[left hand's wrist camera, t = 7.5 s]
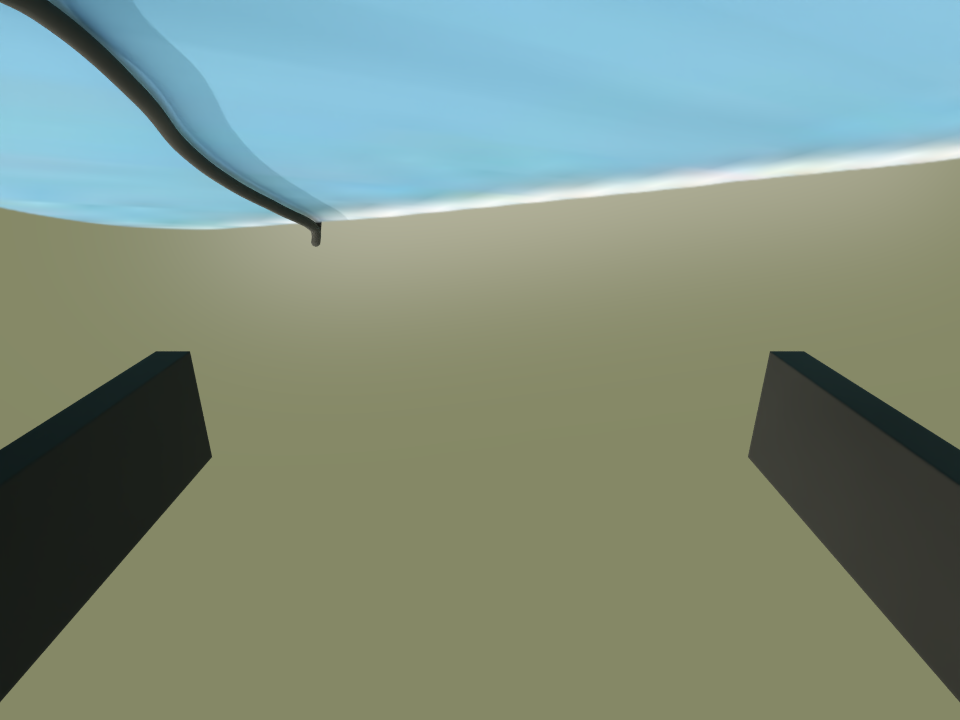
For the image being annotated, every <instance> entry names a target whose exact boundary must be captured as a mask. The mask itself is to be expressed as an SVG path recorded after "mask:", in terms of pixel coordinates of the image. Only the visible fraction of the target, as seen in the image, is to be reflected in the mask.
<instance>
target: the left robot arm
mask: <svg viewBox="0 0 960 720" xmlns="http://www.w3.org/2000/svg"><path fill="white" fill-rule="evenodd" d="M0 2H1V3H3V4H5V5H7V6H10V7H12V8H14V9H16V10H18V11H20V12H22V13H23V14H25V15H27V16H29V17H30V18H32V19H33V20H35V21H36V22H38V23H39V24H41V25H42V26H44V27H45V28H47V29H48V30H50V31H51V32H52V33H54V34H55V35H56V36H58V37H59V38H61V39H62V40H63V41H65V42H66V43H67V44H69V45H70V46H71V47H72V48H74V49H75V50H76V51H77V52H79V53H80V54H81V55H82V56H83V57H85V58H86V59H87V60H88V61H89V62H90V63H92V64H93V65H94V66H95V67H96V68H97V69H98V70H99V71H101V72H102V73H103V74H104V75H105V76H106V77H107V78H108V79H109V80H110V81H111V82H112V83H114V84H115V85H116V86H117V87H118V88H119V89H120V90H121V91H122V92H123V93H124V94H125V95H126V96H127V97H128V98H129V99H130V100H131V101H132V102H133V103H134V104H135V105H136V106H137V107H138V108H139V109H140V110H141V111H142V112H143V113H144V114H145V115H146V116H147V117H148V118H149V120H150V121H151V122H152V123H153V124H154V126H155V127H156V128H157V130H158V131H159V132H160V134H161V135H162V136H163V137H164V139H165V140H166V141H167V142H168V143H169V144H170V145H171V147H172V148H173V149H174V150H175V151H177V152H178V153H179V154H180V155H181V156H182V157H183V158H184V159H186V160H187V161H188V162H189V163H190V164H192V165H193V166H194V167H196V168H197V169H198V170H199V171H201V172H202V173H204V174H205V175H207V176H208V177H209V178H211V179H213V180H214V181H216V182H217V183H219V184H220V185H222V186H224V187H225V188H227V189H229V190H230V191H232V192H234V193H236V194H238V195H239V196H241V197H243V198H245V199H247V200H249V201H251V202H253V203H255V204H258V205H260V206H262V207H264V208H266V209H268V210H270V211H272V212H274V213H276V214H278V215H280V216H282V217H285V218H287V219H289V220H291V221H294V222H296V223H298V224H300V225H302V226H304V227H306V228H308V229H309V230H310V231H311V233H312V241H311V243H312V245H313V246H315V247H316V246H319V245H320V240H321V225H322V222H314V221H312V220H311V219H309V218H307V217H306V216H304V215H302V214H299V213H297V212H295V211H293V210H291V209H289V208H287V207H285V206H283V205H281V204H279V203H277V202H275V201H274V200H272V199H270V198H268V197H266V196H264V195H262V194H260V193H258V192H256V191H254V190H252V189H250V188H249V187H247V186H245V185H243V184H242V183H240V182H239V181H237V180H235V179H234V178H232V177H231V176H229V175H228V174H226V173H225V172H223V171H222V170H220V169H219V168H218V167H216V166H215V165H214V164H212V163H211V162H210V161H208V160H207V159H206V158H205V157H204V156H202V155H201V154H200V153H199V152H198V151H197V150H196V149H195V148H193V147H192V146H191V145H190V144H189V143H188V142H187V141H186V140H185V139H184V138H183V136H182V135H181V134H180V133H179V132H178V130H177V129H176V128H175V127H174V125H173V124H172V122H171V121H170V119H169V118H168V116H167V115H166V114H165V112H164V111H163V109H162V108H161V107H160V105H159V104H158V103H157V102H156V101H155V99H154V98H153V97H152V96H151V95H150V94H149V93H148V91H147V90H146V89H145V88H144V87H143V86H142V85H141V84H140V83H139V82H138V81H137V80H136V79H135V78H134V77H133V76H132V75H131V74H130V73H129V72H128V70H127V69H126V68H125V67H124V66H123V65H122V64H121V63H120V62H119V61H118V60H117V59H116V58H115V57H114V56H113V55H112V54H111V53H110V52H109V51H107V50H106V49H105V48H104V47H103V46H102V45H101V44H100V43H99V42H98V41H97V40H96V39H95V38H93V37H92V36H91V35H90V34H89V33H88V32H87V31H85V30H84V29H83V28H82V27H81V26H80V25H78V24H77V23H76V22H75V21H74V20H72V19H71V18H70V17H69V16H67V15H66V14H65V13H64V12H62V11H61V10H60V9H58V8H57V7H56V6H54V5H53V4H52V3H50V2H49V1H48V0H0ZM211 457H212V455H211V450H210V445H209V440H208V436H207V431H206V426H205V421H204V416H203V412H202V407H201V402H200V397H199V393H198V388H197V383H196V378H195V374H194V369H193V364H192V359H191V355H190V352H189V351H180V352H179V351H156V352H154V353H153V354H151V355H150V356H148V357H146V358H145V359H143V360H142V361H140V362H139V363H137V364H135V365H134V366H132V367H131V368H129V369H128V370H126V371H124V372H123V373H121V374H120V375H118V376H116V377H115V378H113V379H112V380H110V381H109V382H107V383H105V384H104V385H102V386H101V387H99V388H98V389H96V390H94V391H93V392H91V393H90V394H88V395H86V396H85V397H83V398H82V399H80V400H78V401H77V402H75V403H74V404H72V405H71V406H69V407H67V408H66V409H64V410H63V411H61V412H60V413H58V414H56V415H55V416H53V417H52V418H50V419H48V420H47V421H45V422H44V423H42V424H41V425H39V426H37V427H36V428H34V429H33V430H31V431H29V432H28V433H26V434H25V435H23V436H22V437H20V438H18V439H17V440H15V441H14V442H12V443H10V444H9V445H7V446H6V447H4V448H2V449H1V450H0V702H1V700H2V699H3V698H4V697H5V696H6V695H7V694H8V692H9V691H10V690H11V689H12V688H13V687H14V685H15V684H16V683H17V682H18V681H19V680H20V678H21V677H22V676H23V675H24V674H25V673H26V672H27V670H28V669H29V668H30V667H31V666H32V665H33V663H34V662H35V661H36V660H37V659H38V658H39V656H40V655H41V654H42V653H43V652H44V651H45V650H46V648H47V647H48V646H49V645H50V644H51V643H52V641H53V640H54V639H55V638H56V637H57V636H58V634H59V633H60V632H61V631H62V630H63V629H64V628H65V626H66V625H67V624H68V623H69V622H70V621H71V619H72V618H73V617H74V616H75V615H76V614H77V612H78V611H79V610H80V609H81V608H82V607H83V606H84V604H85V603H86V602H87V601H88V600H89V599H90V597H91V596H92V595H93V594H94V593H95V592H96V591H97V589H98V588H99V587H100V586H101V585H102V584H103V582H104V581H105V580H106V579H107V578H108V577H109V575H110V574H111V573H112V572H113V571H114V570H115V569H116V567H117V566H118V565H119V564H120V563H121V562H122V560H123V559H124V558H125V557H126V556H127V555H128V553H129V552H130V551H131V550H132V549H133V548H134V547H135V545H136V544H137V543H138V542H139V541H140V540H141V538H142V537H143V536H144V535H145V534H146V533H147V531H148V530H149V529H150V528H151V527H152V526H153V524H154V523H155V522H156V521H157V520H158V519H159V518H160V516H161V515H162V514H163V513H164V512H165V511H166V510H167V508H168V507H169V506H170V505H171V504H172V502H173V501H174V500H175V499H176V498H177V497H178V496H179V494H180V493H181V492H182V491H183V490H184V489H185V488H186V486H187V485H188V484H189V483H190V482H191V481H192V479H193V478H194V477H195V476H196V475H197V474H198V472H199V471H200V470H201V469H202V468H203V467H204V465H205V464H206V463H207V462H208V461H209V460H210V459H211ZM748 457H749V459H750V460H751V461H752V462H753V463H754V464H755V465H756V467H757V468H758V469H759V470H760V471H761V472H762V474H763V475H764V476H765V477H766V478H767V479H768V481H769V482H770V483H771V484H772V485H773V486H774V487H775V489H776V490H777V491H778V492H779V493H780V494H781V496H782V497H783V498H784V499H785V500H786V501H787V503H788V504H789V505H790V506H791V507H792V508H793V510H794V511H795V512H796V513H797V514H798V515H799V516H800V518H801V519H802V520H803V521H804V522H805V523H806V525H807V526H808V527H809V528H810V529H811V530H812V532H813V533H814V534H815V535H816V536H817V537H818V538H819V540H820V541H821V542H822V543H823V544H824V545H825V547H826V548H827V549H828V550H829V551H830V552H831V553H832V555H833V556H834V557H835V558H836V559H837V560H838V562H839V563H840V564H841V565H842V566H843V567H844V569H845V570H846V571H847V572H848V573H849V574H850V575H851V577H852V578H853V579H854V580H855V581H856V582H857V584H858V585H859V586H860V587H861V588H862V589H863V591H864V592H865V593H866V594H867V595H868V596H869V597H870V599H871V600H872V601H873V602H874V603H875V604H876V605H877V607H878V608H879V609H880V610H881V611H882V613H883V614H884V615H885V616H886V617H887V618H888V619H889V621H890V622H891V623H892V624H893V625H894V626H895V628H896V629H897V630H898V631H899V632H900V633H901V635H902V636H903V637H904V638H905V639H906V640H907V641H908V643H909V644H910V645H911V646H912V647H913V648H914V650H915V651H916V652H917V653H918V654H919V655H920V656H921V658H922V659H923V660H924V661H925V662H926V663H927V665H928V666H929V667H930V668H931V669H932V670H933V672H934V673H935V674H936V675H937V676H938V677H939V678H940V680H941V681H942V682H943V683H944V684H945V685H946V687H947V688H948V689H949V690H950V691H951V692H952V694H953V695H954V696H955V697H956V698H957V699H958V700H959V702H960V450H959V449H957V448H956V447H954V446H953V445H951V444H950V443H948V442H946V441H945V440H943V439H942V438H940V437H938V436H937V435H935V434H934V433H932V432H931V431H929V430H927V429H926V428H924V427H923V426H921V425H919V424H918V423H916V422H915V421H913V420H912V419H910V418H908V417H907V416H905V415H904V414H902V413H901V412H899V411H897V410H896V409H894V408H893V407H891V406H889V405H888V404H886V403H885V402H883V401H882V400H880V399H878V398H877V397H875V396H874V395H872V394H870V393H869V392H867V391H866V390H864V389H863V388H861V387H859V386H858V385H856V384H855V383H853V382H851V381H850V380H848V379H847V378H845V377H844V376H842V375H840V374H839V373H837V372H836V371H834V370H833V369H831V368H829V367H828V366H826V365H825V364H823V363H821V362H820V361H818V360H817V359H815V358H813V357H812V356H810V355H809V354H807V353H806V352H802V351H771V352H770V355H769V359H768V364H767V369H766V373H765V378H764V383H763V388H762V393H761V398H760V402H759V407H758V412H757V416H756V421H755V426H754V431H753V436H752V440H751V445H750V450H749V455H748Z"/></svg>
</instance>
